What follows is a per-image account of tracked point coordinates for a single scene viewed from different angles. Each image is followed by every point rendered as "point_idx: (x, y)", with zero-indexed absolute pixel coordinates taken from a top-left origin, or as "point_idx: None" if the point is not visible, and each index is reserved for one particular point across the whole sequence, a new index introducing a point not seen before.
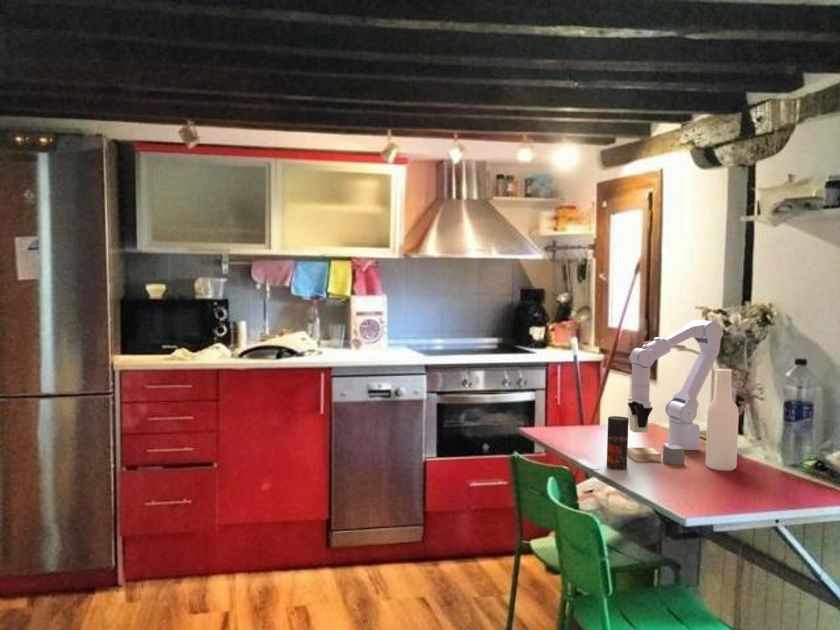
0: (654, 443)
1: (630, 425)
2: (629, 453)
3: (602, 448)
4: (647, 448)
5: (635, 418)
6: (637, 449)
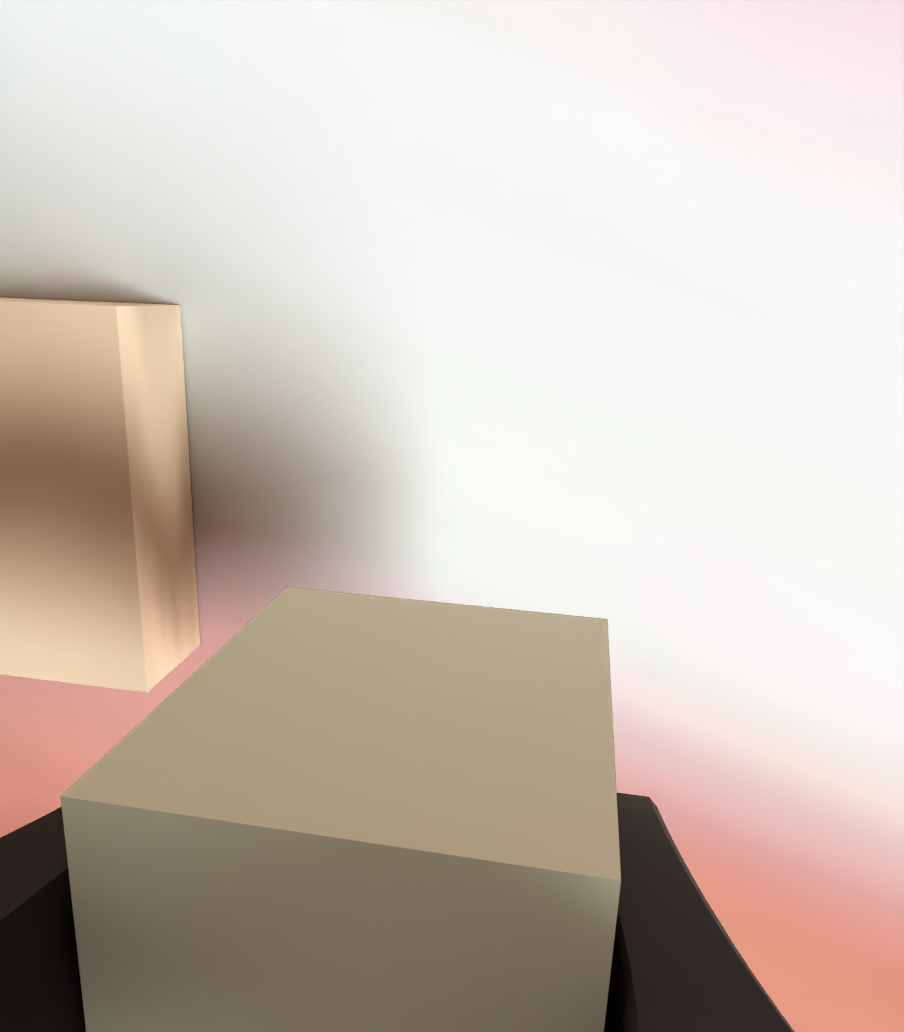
0: (857, 975)
1: (564, 663)
2: (57, 301)
3: (615, 2)
4: (89, 606)
5: (86, 801)
6: (10, 428)
